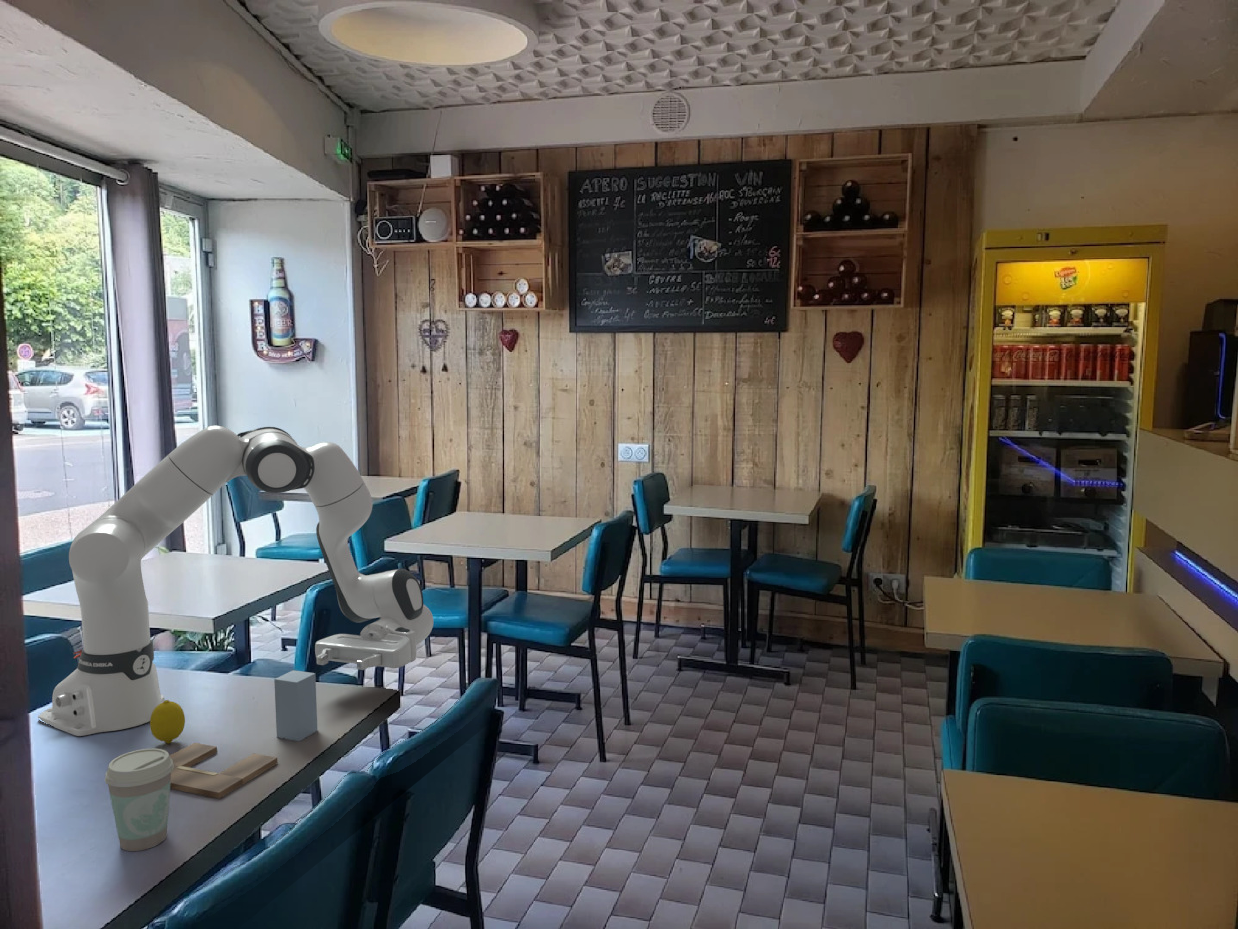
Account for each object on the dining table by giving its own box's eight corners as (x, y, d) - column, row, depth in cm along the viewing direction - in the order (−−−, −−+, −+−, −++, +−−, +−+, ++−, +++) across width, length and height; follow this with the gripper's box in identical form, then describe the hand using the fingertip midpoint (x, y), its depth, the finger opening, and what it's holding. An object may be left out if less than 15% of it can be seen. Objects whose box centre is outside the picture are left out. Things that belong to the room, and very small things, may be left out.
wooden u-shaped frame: (131, 780, 140) (131, 774, 140) (194, 748, 152) (194, 742, 152) (219, 798, 134) (218, 792, 134) (277, 763, 146) (277, 757, 146)
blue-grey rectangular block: (276, 737, 157) (274, 679, 155) (295, 726, 161) (293, 670, 160) (299, 741, 155) (296, 682, 154) (317, 730, 160) (315, 673, 159)
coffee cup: (110, 864, 116) (105, 779, 115) (107, 835, 123) (102, 755, 122) (181, 845, 121) (176, 763, 120) (173, 819, 128) (169, 741, 127)
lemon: (192, 737, 156) (190, 695, 156) (173, 750, 151) (171, 707, 150) (163, 736, 157) (161, 694, 156) (144, 749, 152) (141, 705, 151)
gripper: (338, 623, 185) (295, 643, 172) (421, 631, 178) (382, 652, 165) (340, 651, 185) (296, 673, 172) (422, 661, 179) (383, 684, 166)
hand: (339, 663), depth 169 cm, fingers open, 8 cm apart
